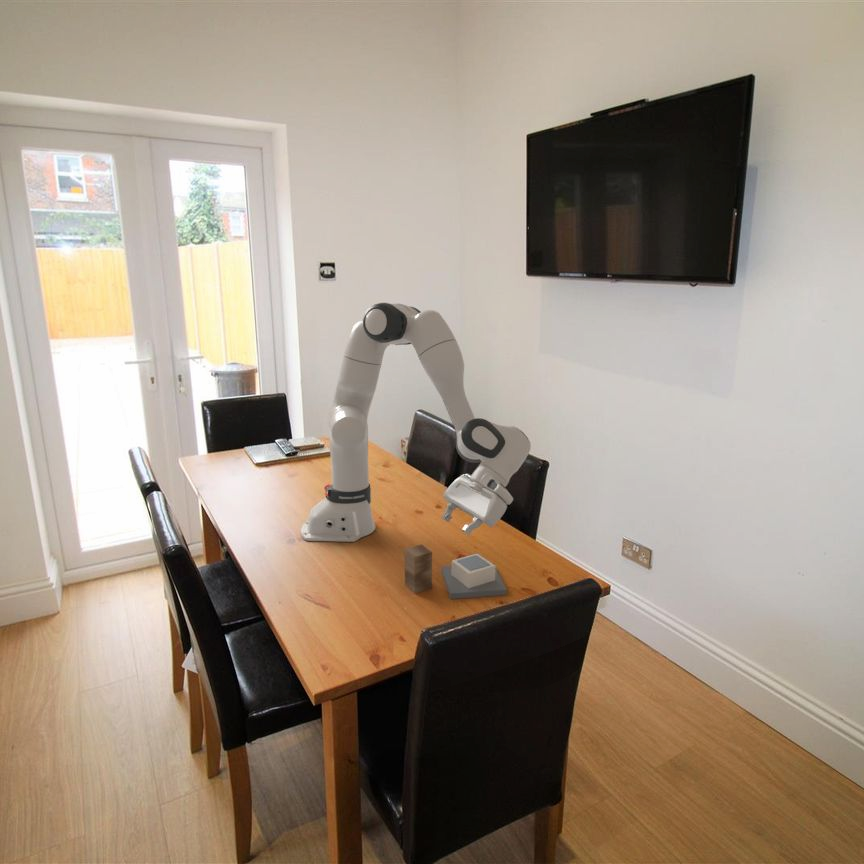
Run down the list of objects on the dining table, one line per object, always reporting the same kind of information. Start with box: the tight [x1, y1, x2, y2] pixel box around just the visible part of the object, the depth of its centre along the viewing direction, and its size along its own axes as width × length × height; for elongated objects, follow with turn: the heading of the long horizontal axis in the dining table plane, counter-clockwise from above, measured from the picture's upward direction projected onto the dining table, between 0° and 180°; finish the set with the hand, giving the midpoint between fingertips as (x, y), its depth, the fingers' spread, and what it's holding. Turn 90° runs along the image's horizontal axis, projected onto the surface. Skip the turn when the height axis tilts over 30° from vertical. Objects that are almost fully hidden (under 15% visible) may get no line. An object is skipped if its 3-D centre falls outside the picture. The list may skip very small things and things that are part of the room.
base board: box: [441, 553, 508, 600], centre depth 156 cm, size 14×14×6 cm
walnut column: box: [404, 544, 433, 595], centre depth 154 cm, size 5×5×10 cm
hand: (454, 526), depth 157 cm, fingers open, 8 cm apart
